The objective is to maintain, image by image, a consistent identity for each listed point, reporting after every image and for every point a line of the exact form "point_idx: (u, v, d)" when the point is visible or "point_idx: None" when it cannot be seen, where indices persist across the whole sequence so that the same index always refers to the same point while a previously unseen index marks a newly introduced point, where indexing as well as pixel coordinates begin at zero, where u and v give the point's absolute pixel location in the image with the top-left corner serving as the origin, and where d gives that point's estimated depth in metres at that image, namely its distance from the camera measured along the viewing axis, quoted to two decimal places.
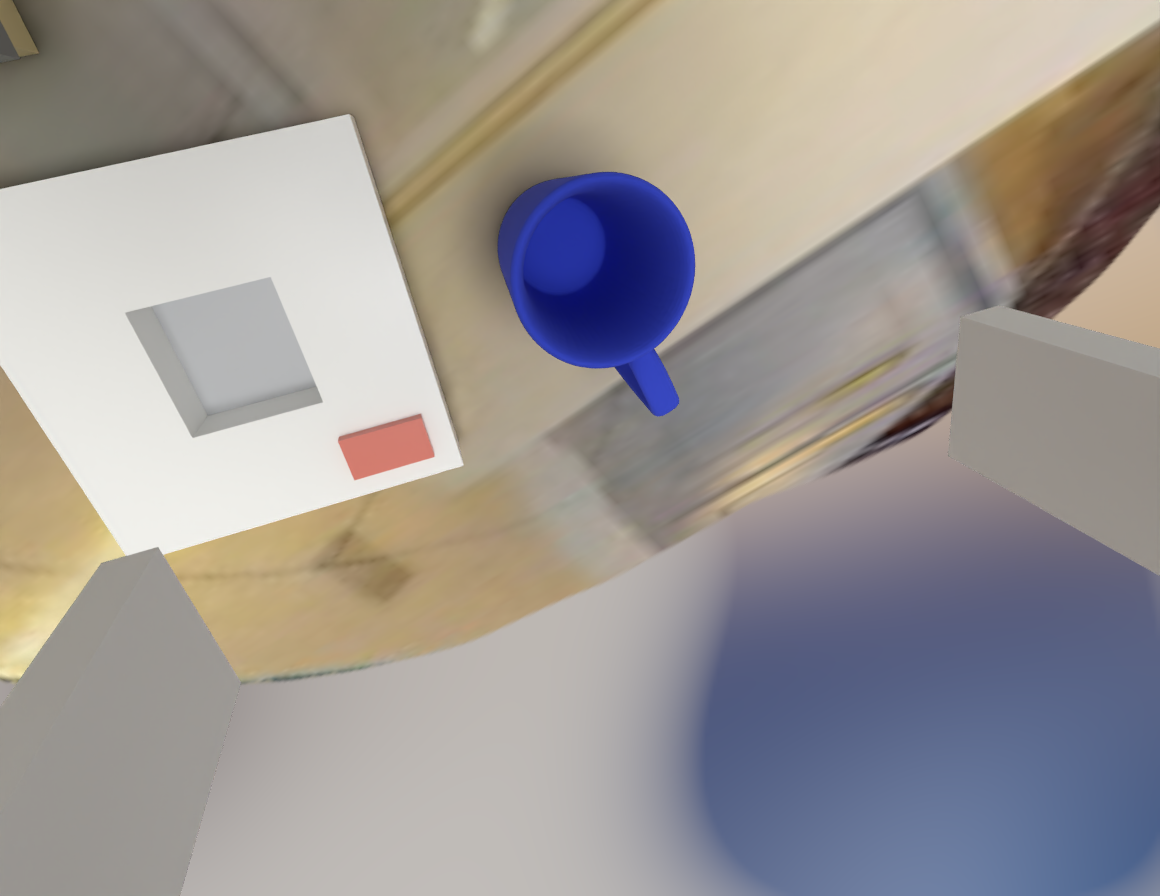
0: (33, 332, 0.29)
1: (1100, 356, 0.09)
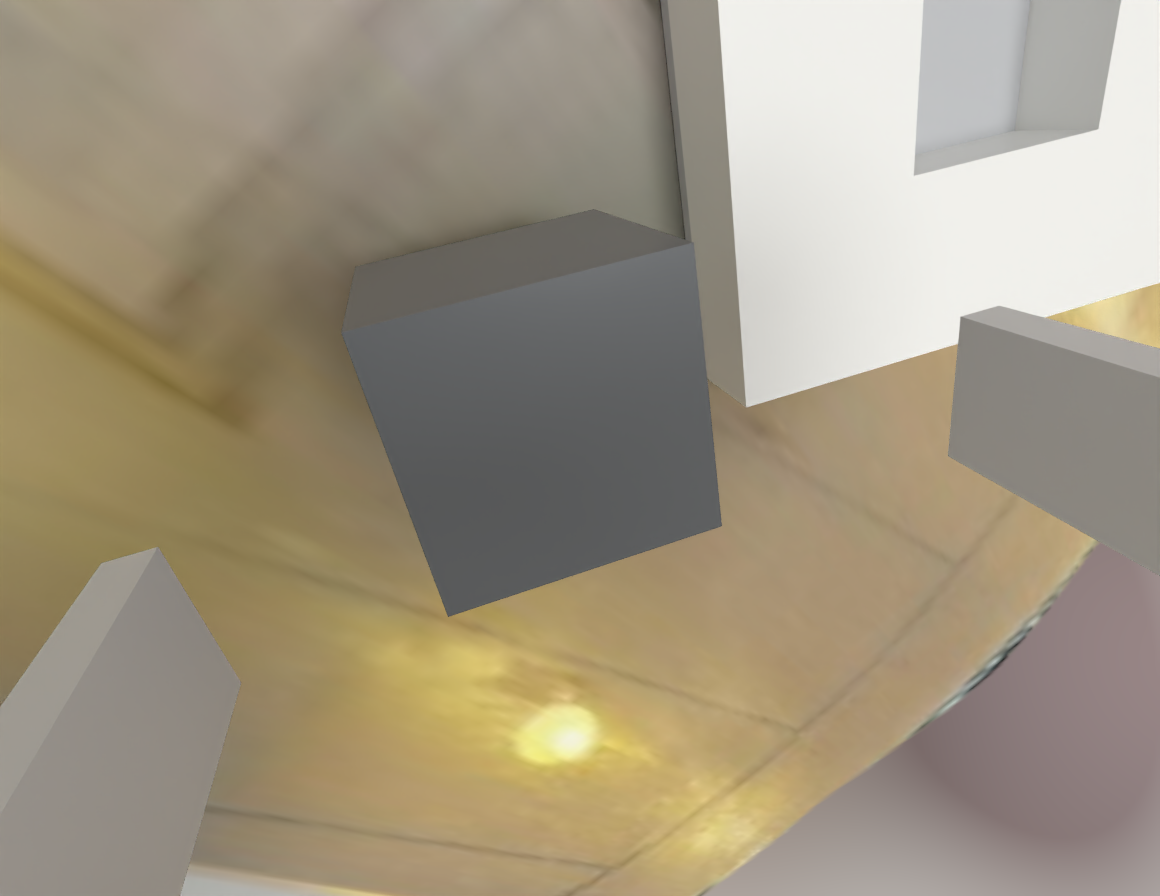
0: (903, 304, 0.20)
1: (1100, 356, 0.09)
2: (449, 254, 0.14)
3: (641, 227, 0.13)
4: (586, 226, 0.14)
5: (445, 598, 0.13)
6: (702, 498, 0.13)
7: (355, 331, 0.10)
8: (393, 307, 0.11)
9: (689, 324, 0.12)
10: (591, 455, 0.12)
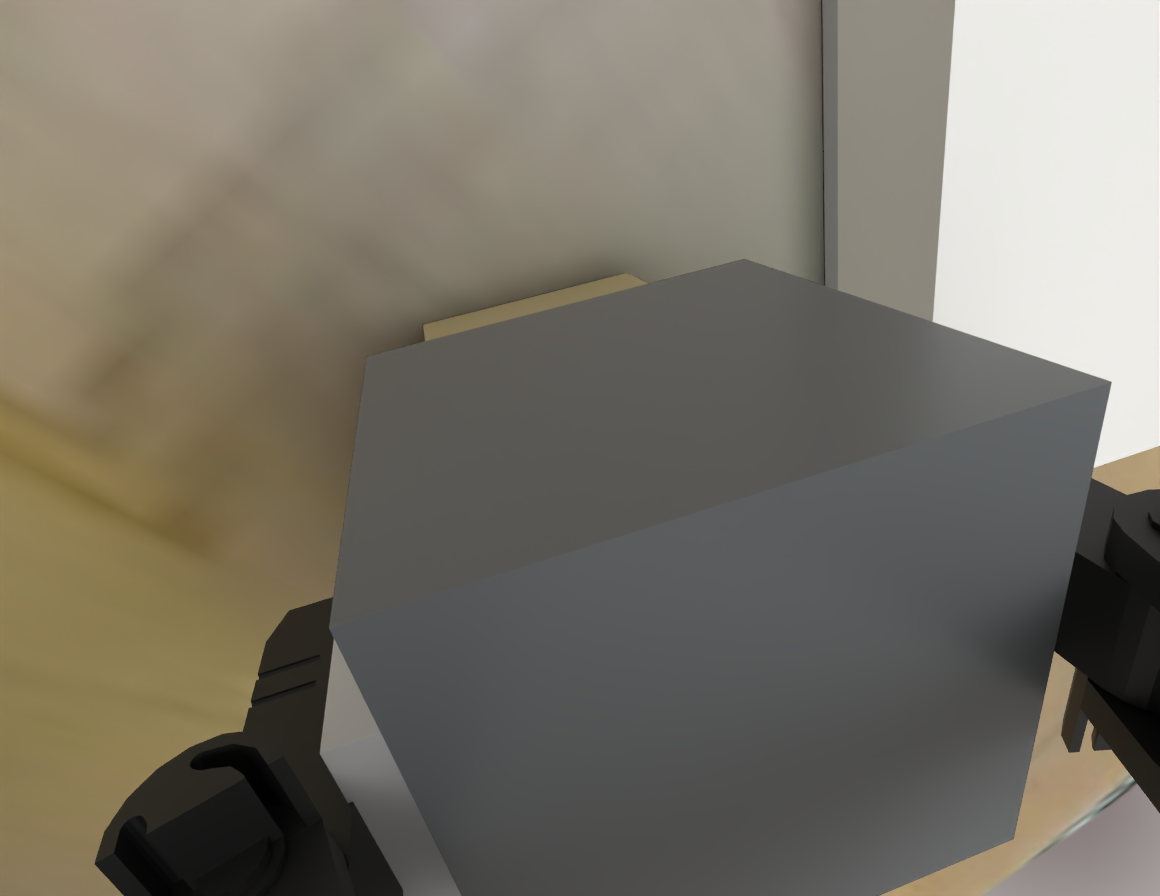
0: (1146, 381, 0.14)
1: None
2: (526, 345, 0.08)
3: (897, 314, 0.07)
4: (763, 299, 0.08)
5: None
6: (995, 806, 0.07)
7: (363, 621, 0.04)
8: (447, 524, 0.05)
9: (1057, 537, 0.06)
10: (825, 773, 0.06)
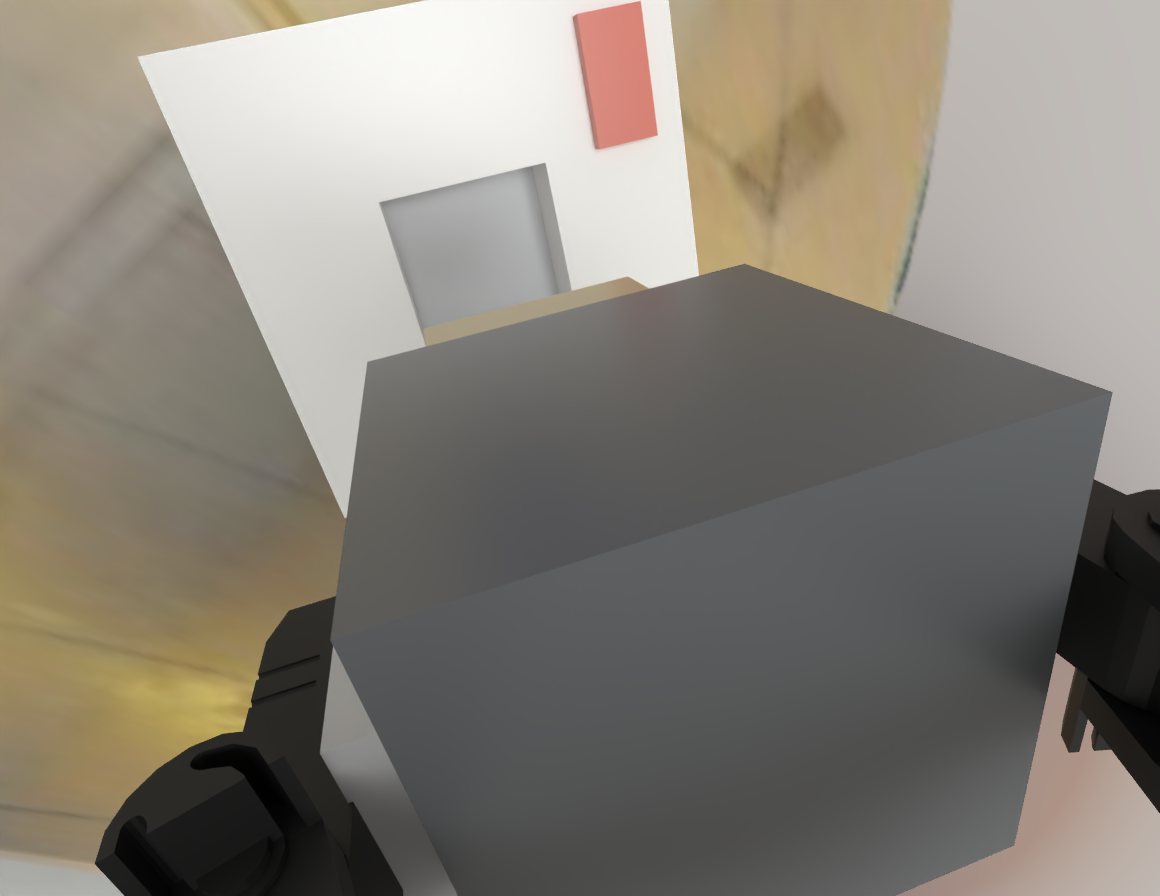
0: None
1: None
2: (527, 351, 0.08)
3: (898, 321, 0.07)
4: (764, 305, 0.08)
5: None
6: (996, 813, 0.07)
7: (364, 633, 0.04)
8: (448, 533, 0.05)
9: (1057, 546, 0.06)
10: (826, 782, 0.06)
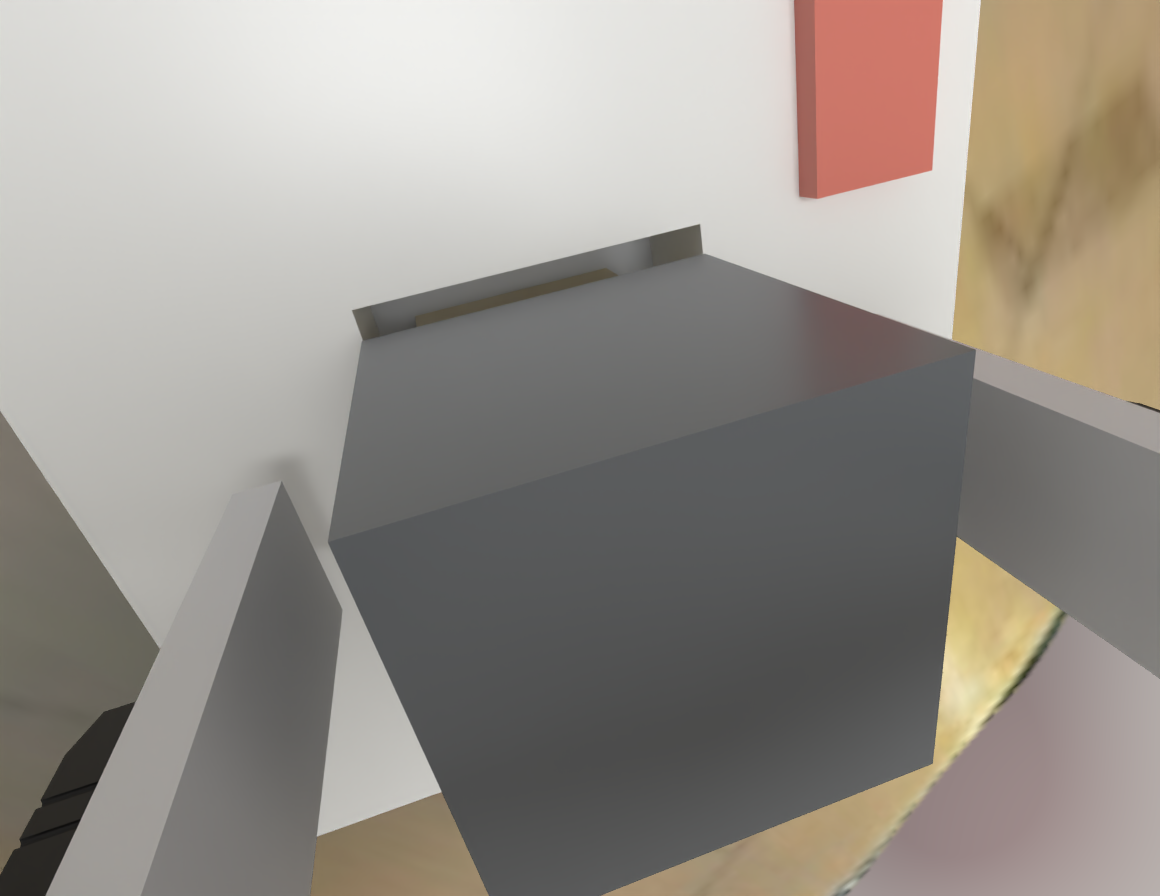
0: None
1: None
2: (503, 329, 0.09)
3: (823, 299, 0.08)
4: (714, 288, 0.09)
5: None
6: (912, 730, 0.08)
7: (355, 537, 0.05)
8: (426, 468, 0.06)
9: (942, 483, 0.07)
10: (754, 692, 0.07)
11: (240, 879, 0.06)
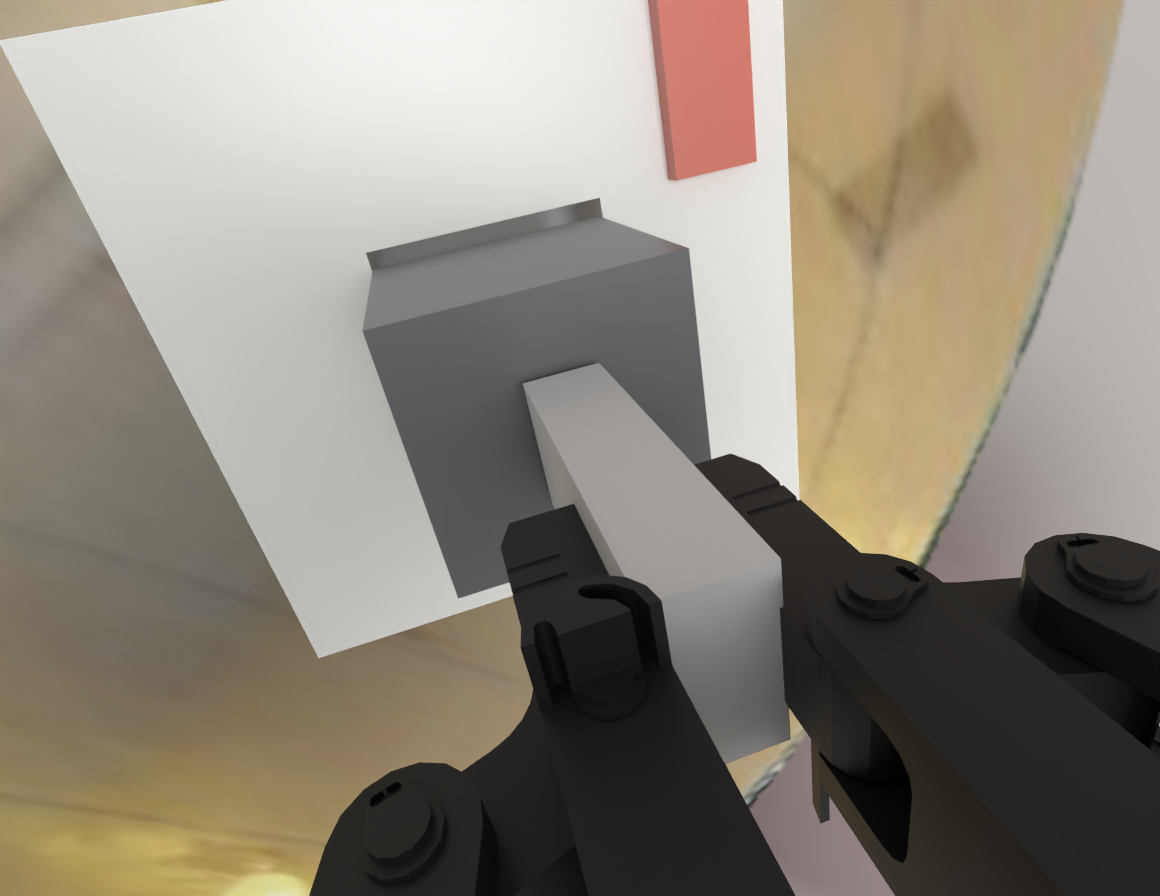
0: None
1: (602, 419, 0.10)
2: (461, 258, 0.15)
3: (641, 233, 0.14)
4: (590, 232, 0.15)
5: (455, 581, 0.14)
6: None
7: (375, 329, 0.11)
8: (410, 308, 0.12)
9: (685, 324, 0.12)
10: None
11: None
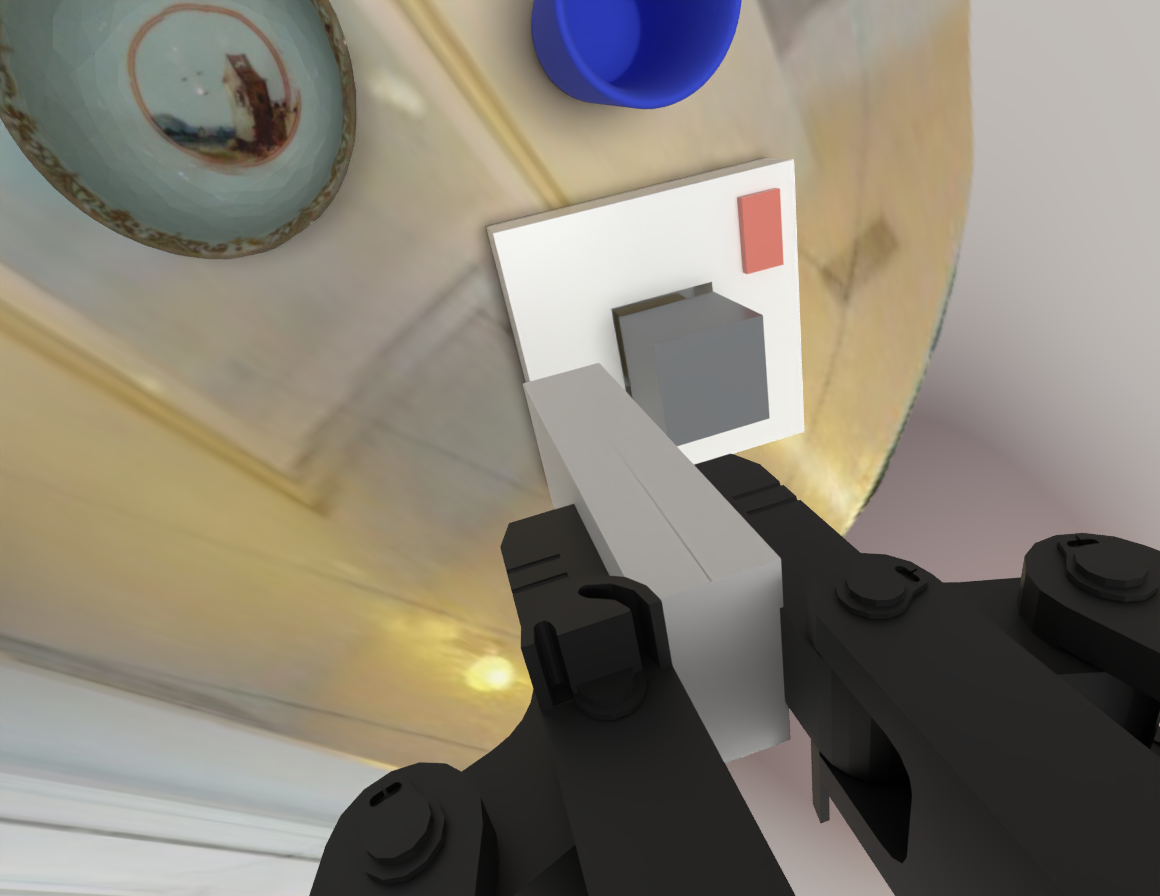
0: None
1: (602, 419, 0.10)
2: (661, 313, 0.37)
3: (740, 305, 0.35)
4: (716, 302, 0.37)
5: None
6: (762, 406, 0.36)
7: (657, 345, 0.33)
8: (663, 337, 0.33)
9: (760, 341, 0.34)
10: (724, 388, 0.34)
11: None
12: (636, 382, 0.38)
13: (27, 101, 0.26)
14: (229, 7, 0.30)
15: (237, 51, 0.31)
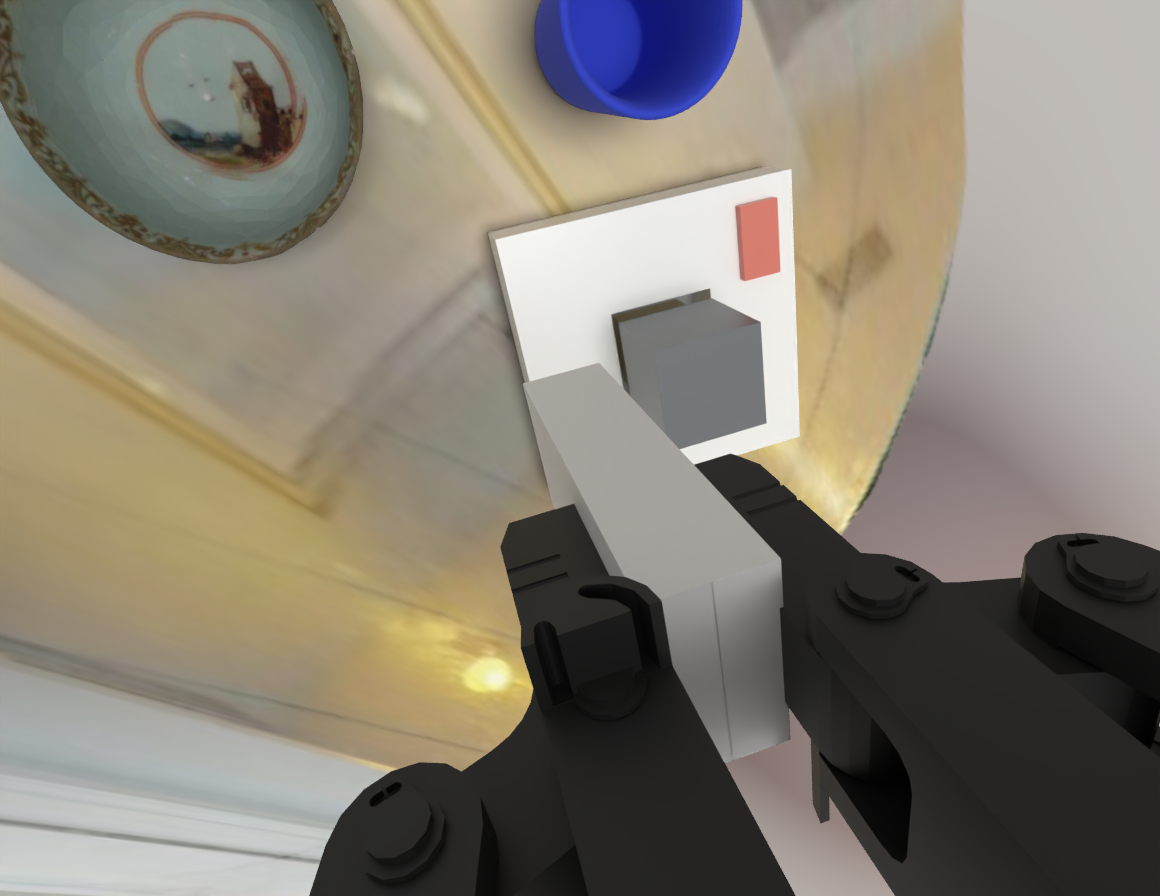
0: None
1: (602, 419, 0.10)
2: (661, 319, 0.37)
3: (738, 312, 0.36)
4: (714, 309, 0.37)
5: None
6: (760, 411, 0.36)
7: (657, 350, 0.33)
8: (663, 342, 0.34)
9: (758, 348, 0.34)
10: (722, 393, 0.35)
11: None
12: (635, 387, 0.39)
13: (37, 107, 0.26)
14: (236, 15, 0.30)
15: (244, 58, 0.31)
